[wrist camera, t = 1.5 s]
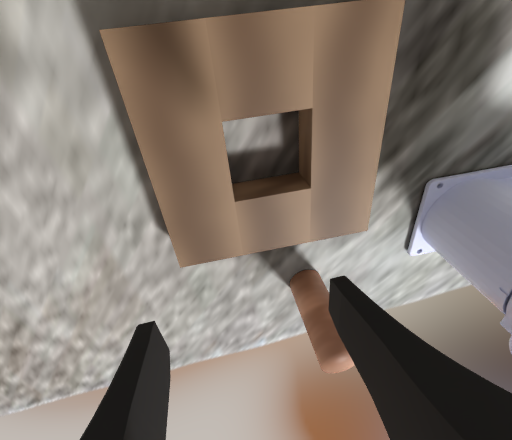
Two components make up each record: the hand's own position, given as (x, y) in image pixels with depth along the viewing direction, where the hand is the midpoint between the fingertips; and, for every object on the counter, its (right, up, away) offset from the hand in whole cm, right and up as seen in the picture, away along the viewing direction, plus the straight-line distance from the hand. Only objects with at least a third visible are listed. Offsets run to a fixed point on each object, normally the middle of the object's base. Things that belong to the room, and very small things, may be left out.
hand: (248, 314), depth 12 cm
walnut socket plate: (+1, +9, +7) cm, 11 cm away
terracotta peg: (+5, -2, +16) cm, 16 cm away
